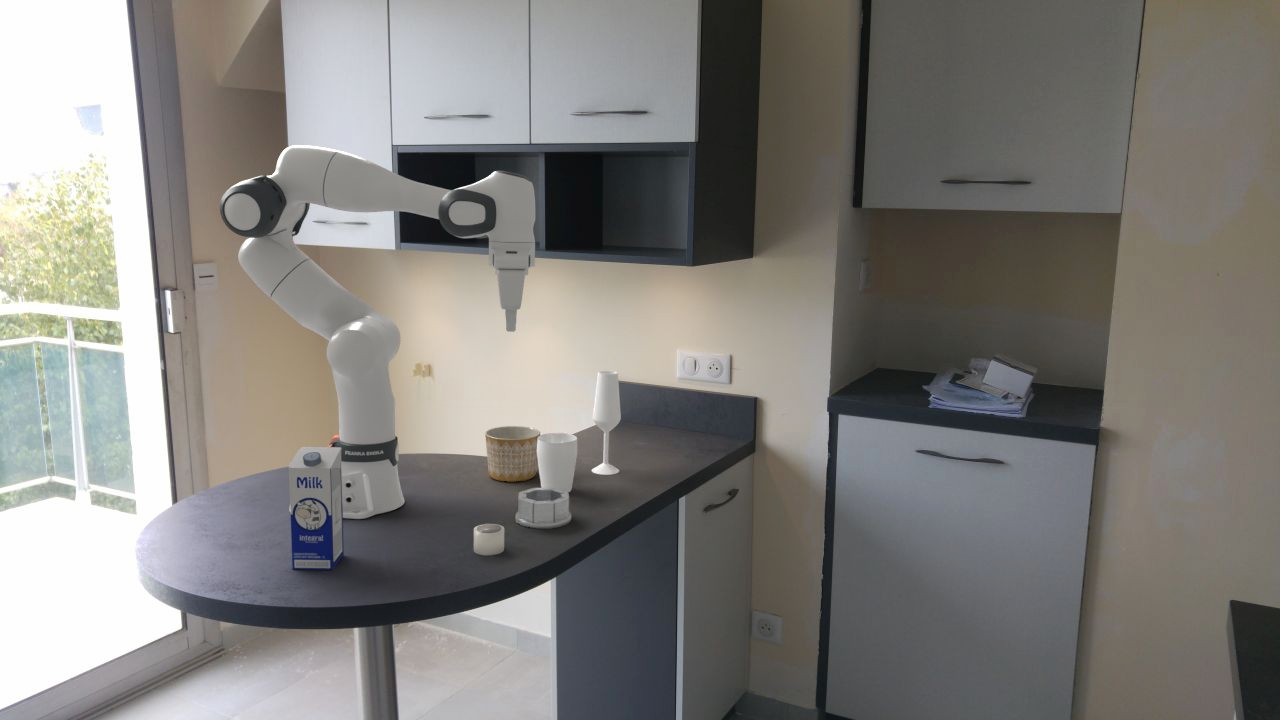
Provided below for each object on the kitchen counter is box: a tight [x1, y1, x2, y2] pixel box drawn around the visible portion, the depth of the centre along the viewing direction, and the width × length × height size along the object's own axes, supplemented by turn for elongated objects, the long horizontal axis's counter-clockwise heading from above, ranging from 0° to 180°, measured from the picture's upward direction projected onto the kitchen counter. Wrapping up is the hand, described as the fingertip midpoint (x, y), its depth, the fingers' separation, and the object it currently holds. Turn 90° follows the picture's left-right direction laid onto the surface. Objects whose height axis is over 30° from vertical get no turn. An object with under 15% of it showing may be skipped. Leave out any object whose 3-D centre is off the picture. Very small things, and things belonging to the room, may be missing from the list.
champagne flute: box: [591, 370, 622, 476], centre depth 215 cm, size 7×7×24 cm
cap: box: [473, 523, 505, 556], centre depth 165 cm, size 6×6×4 cm
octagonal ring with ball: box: [514, 487, 572, 530], centre depth 182 cm, size 11×11×5 cm
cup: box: [537, 432, 578, 493], centre depth 200 cm, size 9×9×12 cm
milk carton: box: [287, 446, 345, 571], centre depth 156 cm, size 7×7×20 cm
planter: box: [484, 425, 541, 483], centre depth 210 cm, size 13×13×10 cm
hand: (511, 327), depth 177 cm, fingers open, 8 cm apart
